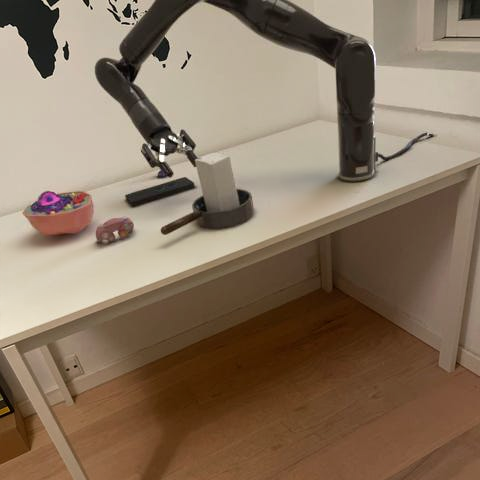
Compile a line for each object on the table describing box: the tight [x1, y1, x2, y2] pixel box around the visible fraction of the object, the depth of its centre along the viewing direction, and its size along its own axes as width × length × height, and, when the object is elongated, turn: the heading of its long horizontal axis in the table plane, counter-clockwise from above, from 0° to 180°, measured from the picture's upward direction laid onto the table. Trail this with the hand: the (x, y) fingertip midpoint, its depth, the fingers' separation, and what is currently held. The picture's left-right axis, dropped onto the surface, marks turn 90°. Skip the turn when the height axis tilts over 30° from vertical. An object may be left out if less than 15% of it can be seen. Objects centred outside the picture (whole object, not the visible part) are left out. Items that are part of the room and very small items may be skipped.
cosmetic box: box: [195, 152, 240, 212], centre depth 119 cm, size 8×6×15 cm
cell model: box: [21, 190, 95, 236], centre depth 128 cm, size 17×20×11 cm
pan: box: [191, 188, 255, 230], centre depth 122 cm, size 15×15×4 cm
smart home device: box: [124, 176, 196, 208], centre depth 145 cm, size 8×2×20 cm
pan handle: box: [160, 211, 202, 236], centre depth 114 cm, size 12×2×2 cm, turn 133°
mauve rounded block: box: [95, 215, 135, 243], centre depth 120 cm, size 10×5×7 cm, turn 118°
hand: (184, 170), depth 126 cm, fingers open, 8 cm apart
